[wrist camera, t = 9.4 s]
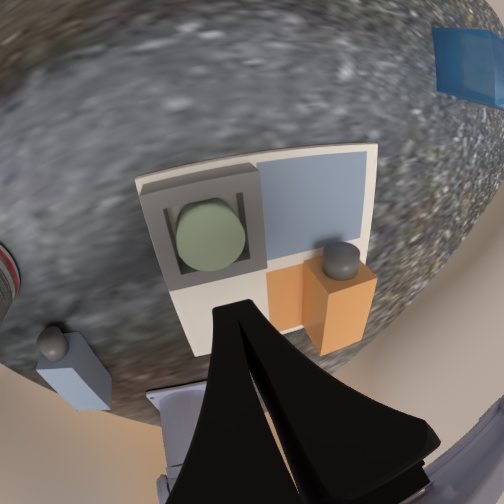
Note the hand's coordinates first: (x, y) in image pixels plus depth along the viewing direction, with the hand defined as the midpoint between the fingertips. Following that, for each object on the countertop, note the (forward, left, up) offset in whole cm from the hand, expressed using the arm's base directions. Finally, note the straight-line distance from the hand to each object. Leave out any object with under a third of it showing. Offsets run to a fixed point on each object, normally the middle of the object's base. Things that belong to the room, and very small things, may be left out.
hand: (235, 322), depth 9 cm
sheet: (-4, -5, -9) cm, 11 cm away
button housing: (0, 0, -9) cm, 9 cm away
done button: (0, 0, -8) cm, 8 cm away
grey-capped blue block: (-11, +15, -9) cm, 20 cm away
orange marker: (-8, -9, -9) cm, 15 cm away
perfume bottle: (+12, -24, -9) cm, 28 cm away
